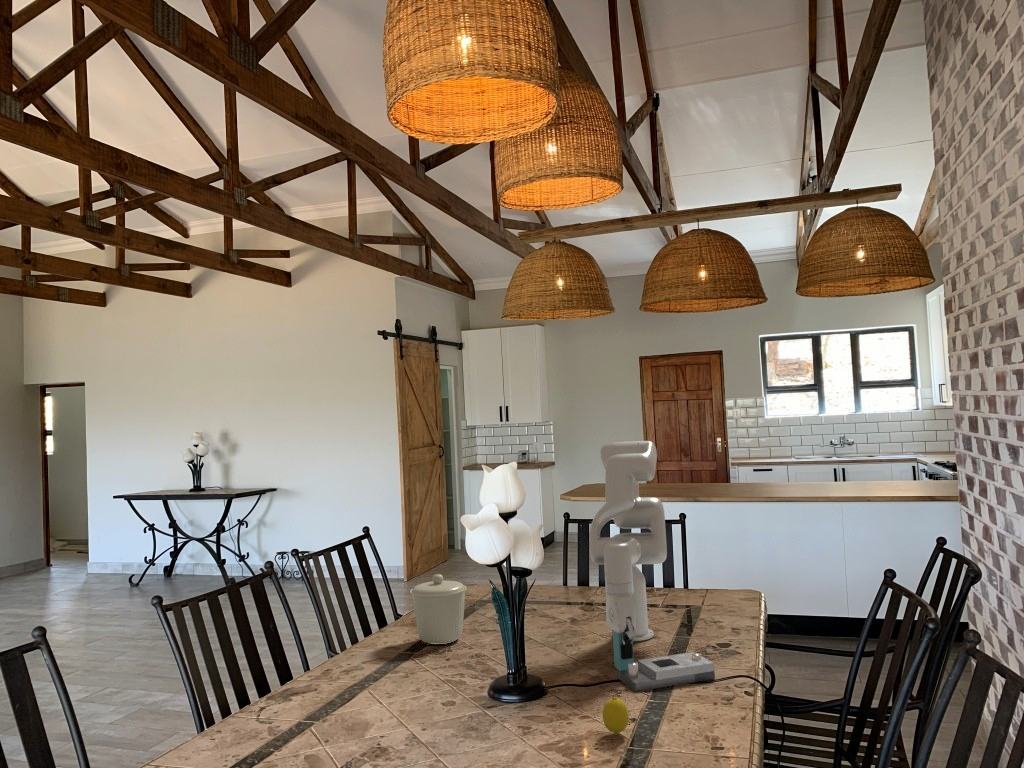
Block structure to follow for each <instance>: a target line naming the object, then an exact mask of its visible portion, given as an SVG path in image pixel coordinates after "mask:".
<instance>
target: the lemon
mask: <svg viewBox="0 0 1024 768" xmlns="http://www.w3.org/2000/svg"><path fill="white" fill-rule="evenodd" d="M629 716H630V715H629V710H628V707H627V705H626V703H625V702H624V701H623V700H622V699H621V698H617V696H613V697H612V698H609V699H608V700H606V702H605V703H604V706H603V709H602V720H603V725H604V727H605V728H606V729H607V731H609V732H610V733H611V732H612V733H613V734H614V735H615V736H618V735H619V734H620V733H622V732H623V731H625V730H626V728H627V727H628V725H629V718H630V717H629Z"/></svg>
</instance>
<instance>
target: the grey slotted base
mask: <svg viewBox="0 0 1024 768" xmlns="http://www.w3.org/2000/svg"><path fill="white" fill-rule="evenodd" d="M628 666H629V669H628V670H622V671H620V670H618V674H617V675H618V680H620V681H621V682H622V683H623V684H625V685H626V684H627V685H626V686H628V687H629V686H630V687H629V688H630V689H632V690H633V689H634V690H633V691H634V692H641V690H642V691H647V689H648V690H653V689H660V688H666V687H671V686H672V685H673V686H677V685H684V684H690V683H696V682H697V683H698V682H703V681H710V680H715V679H716V675H715V674H716V673H715V663H714V662H713V661H711V660H709V659H708V658H705V657H704V656H702V654H701V653H699V652H694V651H691V652H685V653H684V652H683V653H678V654H672V655H665V656H663V655H662V656H657V657H650V658H644V659H638V660H637V662H634V663H629V664H628ZM673 686H672V687H673Z"/></svg>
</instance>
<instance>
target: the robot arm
mask: <svg viewBox="0 0 1024 768" xmlns="http://www.w3.org/2000/svg"><path fill="white" fill-rule="evenodd" d="M599 451H600V454H599V455H600V459H601V463H602V465H603V467H604V470H605V475H604V476H605V477H604V479H605V490H604V491H605V497H604V498H605V499H604V500H605V502H604V504H603V506H602V507H601V508H600V509H599V510H598V511H597V513H596V514H595V515H594V517H593V519H592V522H591V524H590V528H589V557H590V559H591V561H592V563H594V564H596V565H603V566H604V567H603V569H604V581H605V595H606V596H605V624H606V627H608V629H610V630H611V631H612V630H613V631H615V632H616V633H618V634H621V641H622V644H620V645H621V658H622V659H630V658H633V656H634V647H633V648H632V643H634V642H642V641H647V640H650V639H652V638H653V637H654V636H655V633H654V631H653V630H652V629H651V628H649V619H648V618H649V617H648V602H647V588H646V585H647V584H646V577H645V576H644V573H643V572H642V571H641V570H640V569H639V568H638V566H637V565H660V564H663V563H665V561H666V560H667V555H668V552H667V551H668V549H667V547H668V546H667V533H666V532H667V531H666V516H665V509H664V504H663V502H662V500H661V499H659V498H658V497H652V496H650V497H648V496H647V497H640V489H639V486H640V484H639V482H651V481H652V480H653V479H654V478H655V476H656V469H657V459H658V452H657V447H656V445H655V443H654V442H653V441H650V440H635V441H632V440H631V441H629V440H628V441H614V442H608V443H605V444H604V445H602V446H601V447H600V450H599ZM611 520H613V522H614V525H615V527H617V528H620V529H625V530H626V529H627V530H629V529H633V530H634V529H648V530H650V531H651V532H623V533H618V534H615V535H613V536H611V537H609V536H608V537H601V531H602V528H603V527H604V526H605V525H606V524H607V523H608V522H610V521H611ZM625 630H627V632H624V631H625ZM613 631H612V632H613ZM625 634H628V635H627V636H625V638H624V635H625Z"/></svg>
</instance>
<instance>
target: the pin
mask: <svg viewBox="0 0 1024 768" xmlns="http://www.w3.org/2000/svg"><path fill="white" fill-rule="evenodd" d="M611 631H612V644H613V662H614V668H616V669H617V670H618V671H622V670H628V669H629V666H628V664H629V663H635V660H634V659H635V658H634V657H635V656H634V655H633V658H630V659H622V658H621V645H620V644H622V641H621V634H618V633H616V632H615V631H613V630H611ZM624 632H627V630H625V631H624ZM627 635H628V634H625V635H624V638H625V636H627ZM633 643H634V642H633ZM633 643H632V648H633V649H634V644H633Z"/></svg>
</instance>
